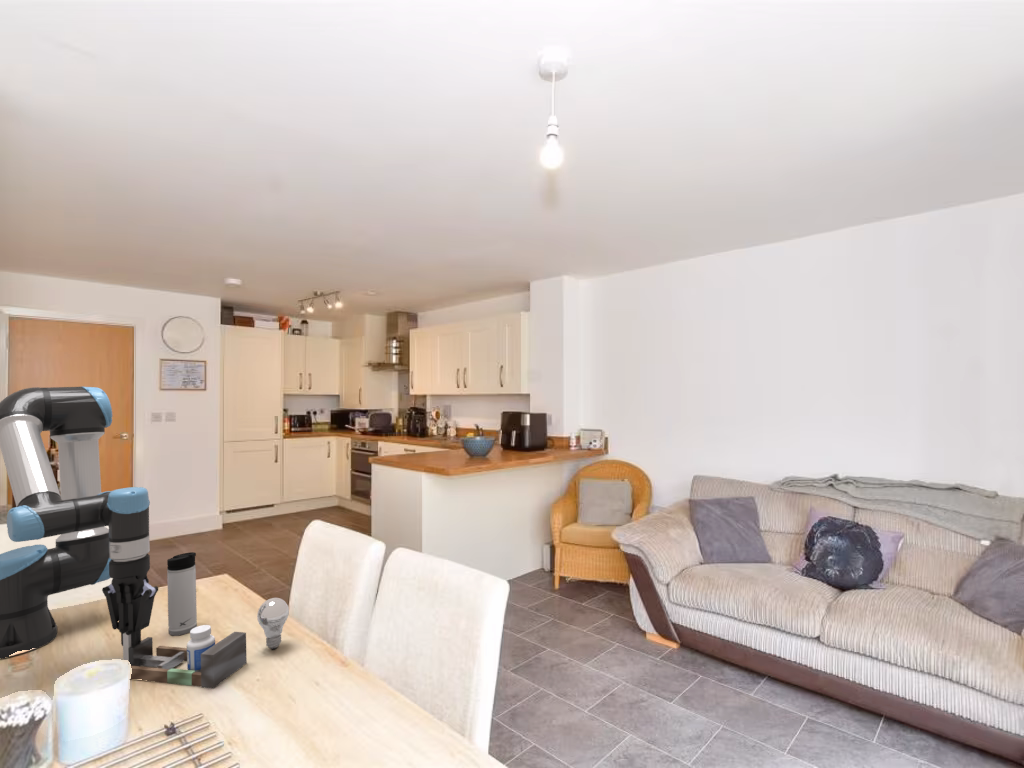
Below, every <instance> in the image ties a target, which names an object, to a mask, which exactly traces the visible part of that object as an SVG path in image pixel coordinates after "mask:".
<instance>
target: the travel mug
mask: <svg viewBox="0 0 1024 768" xmlns="http://www.w3.org/2000/svg"><path fill="white" fill-rule="evenodd" d="M196 555H197V553H196V552H193V551H192V552H191V551H190V552H185V553H180V554H177V555H174V556H173V557H170V558H168V559H167V561H166V563H167V564H166V565H167V569H166V571H167V572H166V573H167V574H166V575H167V577H166V578H167V582H166V583H167V617H168V619H167V621H168V624H167V625H168V626H167V627H168V634H169V635H170V636H172V637H173V636H183V635H186V634H190V631H191V630H192V629H193V628H195V627H198V625H197V624H198V622H197V620H198V619H197V618H198V617H197V572H196V571H197V570H196V565H197V564H196V557H197V556H196Z"/></svg>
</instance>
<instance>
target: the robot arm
mask: <svg viewBox="0 0 1024 768" xmlns="http://www.w3.org/2000/svg"><path fill="white" fill-rule="evenodd" d="M112 423H113V408H112V404H111V401H110V399H109V396H108V395H107V393H106V392H105V391H104V390H103V389H102V388H99V387H93V386H84V385H83V386H56V387H41V386H40V387H28V388H23V389H20V390H17V391H15V392H12V393H11V394H9V395H7V396H6V397H4V399H2V400H1V401H0V452H1V455H2V458H3V463H4V466H5V470H6V474H7V476H8V477H7V478H8V480H9V484H10V488H11V491H12V495H13V498H14V502H15V507H12V508H10V509H9V510H8V511H7V514H6V515H7V516H6V528H7V534H8V537H9V539H10V540H11V542H13V543H19V542H27V541H28V542H29V541H34V540H41V539H45V538H49V537H55V536H57V538H56V539H55V547H52V548H48V547H47V546H46V545H45V544H34V545H27V546H21V547H18V548H15V549H11V550H8V551H5V552H2V553H0V658H1V659H2V658H3V659H6V658H5V657H8V658H10V657H9V655H11V654H13V653H15V652H17V651H22V650H30V649H32V648H37V649H39V648H41V647H43V646H45V645H48V644H49V643H51V642H53V640H55V639H56V638H57V636H58V625H57V622H56V621H55V619H54V617H53V615H52V612H51V611H50V608H49V604H48V598H49V596H50V595H55V594H60V593H63V592H66V591H70V590H75V589H78V588H83V587H86V586H90V585H91V586H93V585H94V586H95V584H97V583H98V584H99V583H102V582H105V581H108V580H110V579H112V580H111V582H110V584H109V585H106V586H104V587H102V588H101V591H102V593H103V594H104V597H105V599H106V600H105V601H106V604H107V609H108V613H109V618H110V622H111V627H112V629H113V630H118V631H119V633H120V638H121V639H120V642H121V643H120V644H121V646H122V657H123V659H124V660H128V661H129V652H128V648H129V647H131V646H133V645H135V644H136V643H138V642H140V641H142V630H144V629H146V628H148V627H149V626H150V623H151V617H152V612H153V606H154V602H155V598H156V595H157V593H158V591H159V587H158V586H157V585H155V586H152V585H151V584H150V583H149V582H150V580H149V578H148V572H149V570H150V569H151V563H150V562H151V561H150V560H151V557H150V556H151V555H150V554H149V553H150V552H151V551H150V549H151V546H150V504H151V502H150V499H149V491H148V489H147V488H146V487H143V486H140V487H139V486H133V487H132V486H131V487H124V488H118V489H113V490H111V491H110V490H105V491H103V492H102V481H101V480H102V479H101V464H100V463H101V462H100V460H101V459H100V447H99V446H100V445H99V444H100V443H99V440H100V439H101V438H102V437H103V436H104V434H105V432H106V431H105V428H109V427H110V426H111V425H112ZM42 432H49V438H50V439H51V440H53V441H54V442H55V443H57V448H58V468H59V469H58V470H59V486H60V488H59V487H58V484H57V480H56V478H55V475H54V471H53V469H52V465H51V462H50V459H49V455H48V453H47V450H46V447H45V444H44V441H43V438H42V435H41V433H42ZM59 489H60V490H59ZM1 659H0V660H1ZM123 659H122V660H123Z"/></svg>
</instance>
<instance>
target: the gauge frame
mask: <svg viewBox="0 0 1024 768" xmlns="http://www.w3.org/2000/svg"><path fill="white" fill-rule="evenodd" d="M155 648H156V649H155V650H156V651H155V654H156V655H155V656H163V657H173V656H174V655H176V654H177V653H179V652H184V661H183V662H187V647H179V646H165V645H159V646H157V647H155ZM247 660H248V659H247V632H245V631H244V632H243V631H234V632H231V633H230V634H229V635H227V636H226V637H223V639H221V640H220V641H218V642H217V643H215V645H214V646H212V647H211V648H209V649H208V650H206V651H205V652H203V653H202V654H201V672H196V671H194V670H188V669H184V668H183V669H182V668H180V669H179V668H171V669H161V668H158V667H148V666H131V668H132V674H131V679H130V680H132V679H142V680H147V681H146V682H151V681H155V682H154V683H160V684H161V683H163V684H172V685H181V686H191V687H192V686H193V687H201V688H204V687H205V688H206V689H215V688H216V687H217V686H219V685H220V684H222V683H223V682H224V681H225V680H227V679H228V678H230V677H231V676H232V675H233V674H235V673H236V672H237V671H238V670H240V669H241V668H242V667H244V666H245V665H246V664H247V663H248V662H247ZM243 665H244V666H243ZM239 668H240V669H239ZM230 675H231V676H230ZM205 688H204V689H205Z"/></svg>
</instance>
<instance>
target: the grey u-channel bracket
mask: <svg viewBox="0 0 1024 768" xmlns="http://www.w3.org/2000/svg"><path fill="white" fill-rule="evenodd" d="M153 641H154V640H153V637H149V636H148V637H146V638H144V639H141V641H140V642H138V643H136V644H135V645H133V646H131V647H129V648H128V652H129V662H130V664H131V666H140V667H150V668H161V669H171V668H172V669H175V667H177V666H178V665H179V664H182V663H183V662H185V661H184V652H179V653H177V654H176V655H174V656H173V657H163V656H156V655H153V653H154V650H153V647H154V645H153V644H154V643H153Z"/></svg>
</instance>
